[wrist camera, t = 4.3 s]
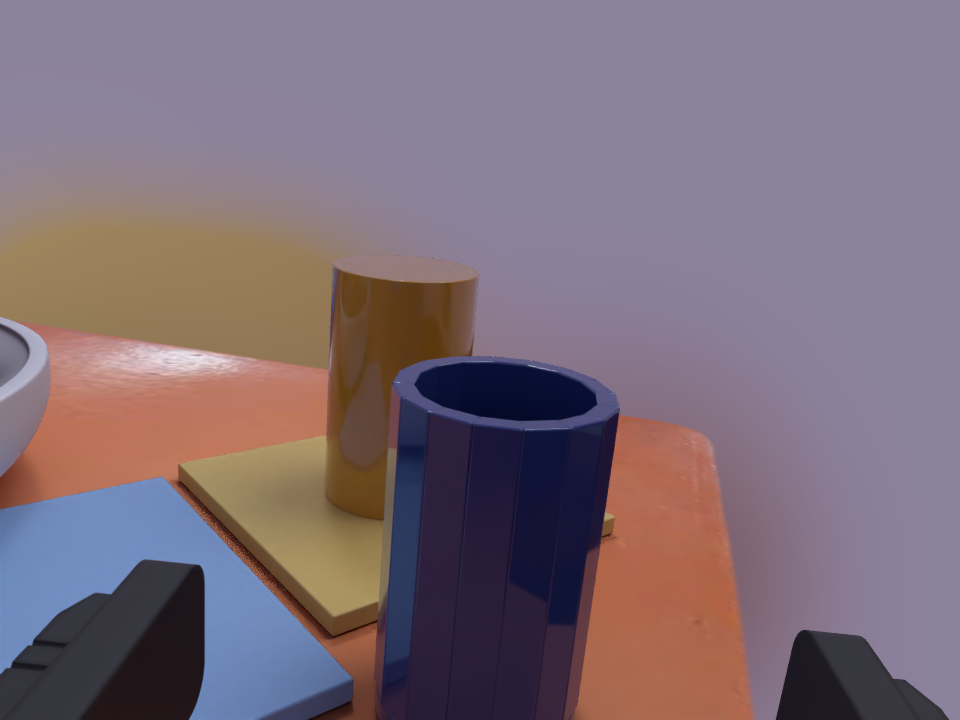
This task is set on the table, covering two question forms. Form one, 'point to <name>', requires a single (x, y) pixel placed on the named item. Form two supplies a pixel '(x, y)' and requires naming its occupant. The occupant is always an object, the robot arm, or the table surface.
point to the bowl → (21, 388)
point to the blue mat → (174, 538)
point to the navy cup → (490, 538)
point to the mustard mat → (299, 527)
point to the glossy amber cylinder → (384, 358)
